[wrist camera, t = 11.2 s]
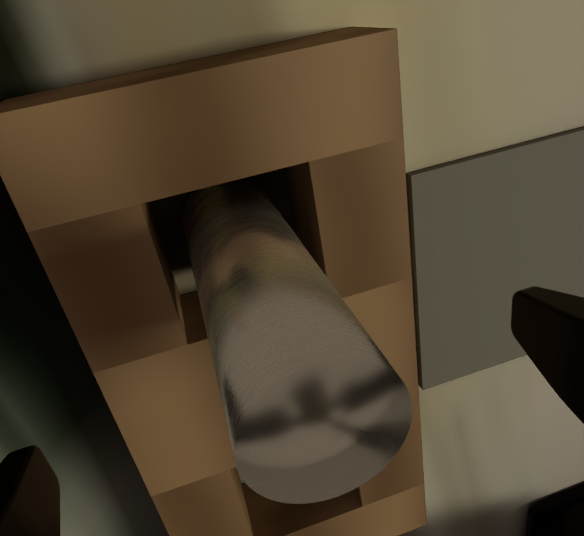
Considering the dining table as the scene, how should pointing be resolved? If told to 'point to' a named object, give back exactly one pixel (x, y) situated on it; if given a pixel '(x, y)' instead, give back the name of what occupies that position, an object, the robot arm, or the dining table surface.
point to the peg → (288, 354)
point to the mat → (492, 248)
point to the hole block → (186, 309)
